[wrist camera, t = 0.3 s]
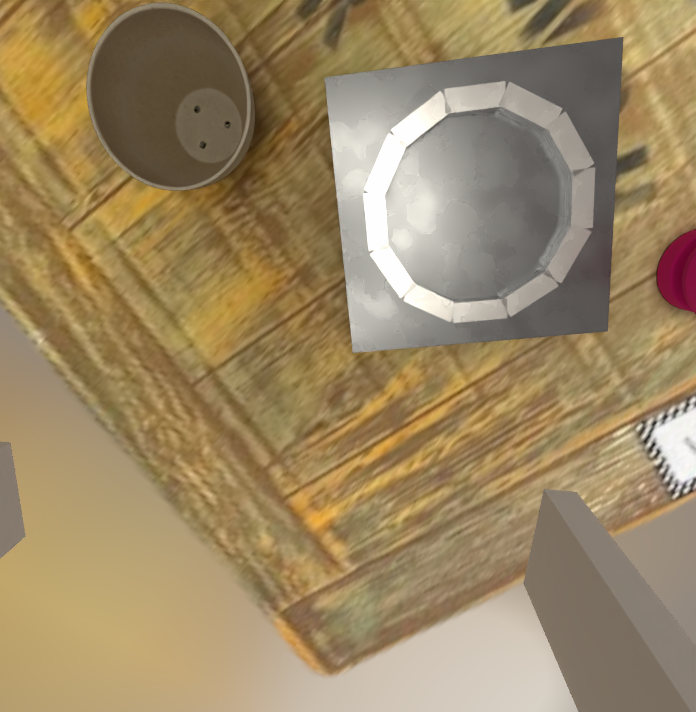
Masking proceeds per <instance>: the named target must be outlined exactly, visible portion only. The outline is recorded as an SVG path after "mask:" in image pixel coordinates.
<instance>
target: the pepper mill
mask: <svg viewBox="0 0 696 712" xmlns="http://www.w3.org/2000/svg"><path fill="white" fill-rule="evenodd" d="M657 283H658V287H659V290H660V292H661V294H662V296H663V297H664V298H665V299H666V300H667V301H668V302H669V303H670V304H672V305H673V306H675V307H678V308H680V309H683V310H688V311H692V312H694V313H695V314H696V229H694V230H692V231H689V232H687V233H685V234H683V235H682V236H680V237H679V238H678V239H676V240H675V241H674V242H673V243H672V244H671V245H670V246H669V247H668V249H667V250H666V251H665V252H664V254H663V256H662V258H661V260H660V263H659V267H658V270H657Z"/></svg>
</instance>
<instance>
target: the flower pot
mask: <svg viewBox="0 0 696 712" xmlns="http://www.w3.org/2000/svg"><path fill="white" fill-rule="evenodd" d="M86 89H87V101H88V108H89V112H90V116H91V120H92V123H93V126H94V128H95V131H96V133H97V135H98V137H99V139H100V141H101V143H102V145H103V146H104V148H105V150H106V151H107V152H108V154H109V155H110V156H111V158H112V159H113V160H114V161H115V162H116V163H117V164H118V165H119V166H120V167H121V168H122V169H123V170H124V171H126V172H127V173H128V174H129V175H131V176H132V177H134V178H135V179H137V180H139V181H141V182H143V183H145V184H147V185H149V186H152V187H155V188H159V189H163V190H171V191H184V190H193V189H198V188H202V187H206V186H208V185H211V184H213V183H215V182H217V181H219V180H221V179H223V178H224V177H226V176H227V175H229V174H230V173H231V172H232V171H233V170H234V169H235V168H236V167H237V166H238V165H239V164H240V162H241V161H242V160H243V158H244V157H245V155H246V153H247V151H248V149H249V146H250V144H251V141H252V137H253V132H254V125H255V106H254V98H253V93H252V88H251V84H250V81H249V78H248V75H247V72H246V70H245V67H244V65H243V63H242V61H241V58H240V57H239V55H238V53H237V51H236V49H235V48H234V46H233V45H232V43H231V42H230V40H229V39H228V38H227V36H226V35H225V34H224V33H223V32H222V31H221V30H220V29H219V28H218V27H217V26H216V25H215V24H214V23H213V22H211V21H210V20H209V19H208V18H206V17H204V16H203V15H201V14H200V13H198V12H196V11H194V10H192V9H189V8H187V7H185V6H181V5H177V4H172V3H149V4H145V5H141V6H138V7H135V8H133V9H131V10H129V11H127V12H125V13H123V14H122V15H120V16H119V17H118V18H117V19H115V20H114V21H113V22H112V23H111V24H110V25H109V26H108V28H107V29H106V30H105V32H104V33H103V34H102V36H101V37H100V39H99V41H98V42H97V44H96V47H95V49H94V51H93V54H92V57H91V60H90V63H89V69H88V73H87V84H86ZM195 109H197V110H198V113H196V112H195ZM226 122H229V124H226ZM205 144H206V146H205V148H204V145H205Z"/></svg>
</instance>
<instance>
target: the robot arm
mask: <svg viewBox="0 0 696 712" xmlns="http://www.w3.org/2000/svg"><path fill="white" fill-rule="evenodd" d="M24 537H25V531H24V524H23V518H22V511H21V505H20V499H19V493H18V487H17V480H16V475H15V468H14V462H13V456H12V449H11V443H9V442H0V558H1V557H3V556H4V555H5V554H6V553H7V552H8V551H9V550H11V549H12V548H13V547H14V546H15V545H16V544H17V543H19V542H20V541H21V540H22V539H23V538H24ZM524 585H525V588H526V590H527V592H528V595H529V597H530V599H531V602H532V604H533V606H534V609H535V611H536V613H537V616H538V618H539V620H540V623H541V625H542V627H543V630H544V632H545V635H546V637H547V639H548V642H549V644H550V646H551V649H552V651H553V653H554V656H555V658H556V660H557V662H558V665H559V667H560V670H561V672H562V674H563V676H564V679H565V681H566V683H567V686H568V688H569V691H570V693H571V695H572V698H573V700H574V702H575V705H576V707H577V709H578V711H579V712H696V645H695V644H694V643H693V641H692V640H691V638H690V637H689V636H688V635H687V633H686V632H685V631H684V630H683V629H682V627H681V626H680V625H679V623H678V622H677V620H676V619H675V618H674V617H673V615H672V614H671V613H670V611H669V610H668V609H667V608H666V606H665V605H664V604H663V603H662V601H661V600H660V599H659V598H658V596H657V595H656V594H655V592H654V591H653V590H652V588H651V587H650V586H649V585H648V584H647V582H646V581H645V579H644V578H643V577H642V576H641V574H640V573H639V572H638V570H637V569H636V568H635V567H634V565H633V564H632V563H631V561H630V560H629V559H628V558H627V556H626V555H625V554H624V552H623V551H622V550H621V549H620V547H619V546H618V545H617V543H616V542H615V541H614V540H613V538H612V537H611V536H610V534H609V533H608V532H607V531H606V529H605V528H604V527H603V525H602V524H601V523H600V522H599V520H598V519H597V518H596V516H595V515H594V514H593V513H592V511H591V510H590V509H589V508H588V506H587V505H586V504H585V502H584V501H583V500H582V499H581V497H580V496H579V495H578V493H577V492H570V491H559V490H547V489H544V491H543V496H542V501H541V505H540V510H539V515H538V519H537V524H536V528H535V533H534V538H533V542H532V547H531V552H530V556H529V561H528V566H527V570H526V575H525V579H524Z"/></svg>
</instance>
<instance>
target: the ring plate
mask: <svg viewBox="0 0 696 712" xmlns="http://www.w3.org/2000/svg"><path fill="white" fill-rule="evenodd" d="M622 51H623V37H620V38H612V39H605V40H598V41H590V42H583V43H575V44H568V45H561V46H553V47H546V48H538V49H531V50H524V51H516V52H509V53H501V54H494V55H487V56H479V57H472V58H464V59H457V60H450V61H442V62H435V63H427V64H420V65H413V66H405V67H398V68H390V69H383V70H376V71H368V72H361V73H353V74H346V75H339V76H331V77H325V86H326V96H327V105H328V115H329V125H330V135H331V144H332V154H333V164H334V174H335V183H336V193H337V203H338V213H339V222H340V232H341V242H342V251H343V261H344V271H345V281H346V290H347V300H348V310H349V320H350V329H351V339H352V349H353V353H357V352H369V351H381V350H392V349H404V348H416V347H428V346H440V345H451V344H463V343H475V342H487V341H499V340H510V339H522V338H534V337H546V336H558V335H569V334H581V333H593V332H605V331H608V314H609V295H610V276H611V257H612V239H613V220H614V201H615V182H616V164H617V145H618V126H619V107H620V89H621V70H622Z"/></svg>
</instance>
